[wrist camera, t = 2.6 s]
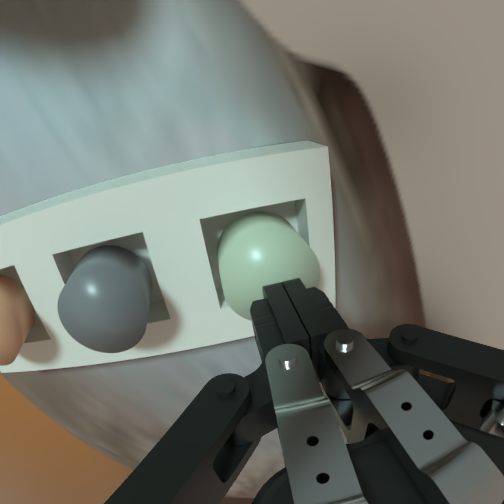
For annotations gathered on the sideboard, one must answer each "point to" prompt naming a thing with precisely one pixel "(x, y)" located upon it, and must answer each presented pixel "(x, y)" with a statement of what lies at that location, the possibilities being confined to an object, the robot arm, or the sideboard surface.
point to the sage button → (262, 258)
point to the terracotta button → (13, 319)
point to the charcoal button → (107, 300)
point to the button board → (164, 244)
